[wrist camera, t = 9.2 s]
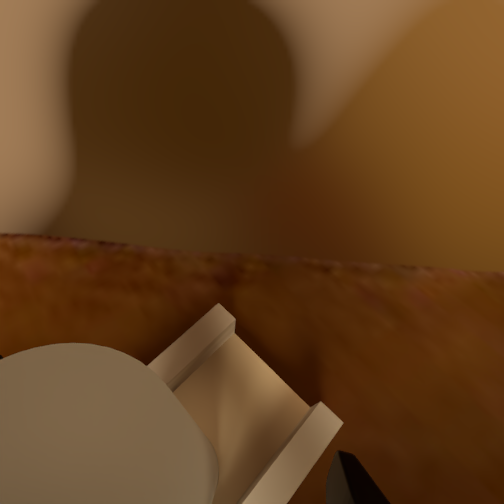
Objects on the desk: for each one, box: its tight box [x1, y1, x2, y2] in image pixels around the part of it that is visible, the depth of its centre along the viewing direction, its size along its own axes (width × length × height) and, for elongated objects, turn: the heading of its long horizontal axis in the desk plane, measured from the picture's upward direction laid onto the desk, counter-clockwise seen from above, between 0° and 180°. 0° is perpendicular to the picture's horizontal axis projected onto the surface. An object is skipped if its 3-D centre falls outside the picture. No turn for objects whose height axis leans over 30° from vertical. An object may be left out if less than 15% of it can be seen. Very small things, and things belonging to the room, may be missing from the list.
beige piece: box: [0, 343, 219, 504], centre depth 9 cm, size 4×4×12 cm
